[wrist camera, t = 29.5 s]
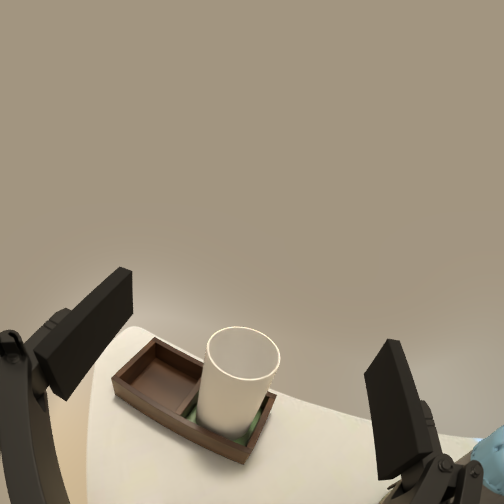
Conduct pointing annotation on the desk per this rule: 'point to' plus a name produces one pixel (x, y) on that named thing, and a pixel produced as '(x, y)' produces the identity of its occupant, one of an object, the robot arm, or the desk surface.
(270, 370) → the cup
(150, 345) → the holder
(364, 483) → the desk surface
